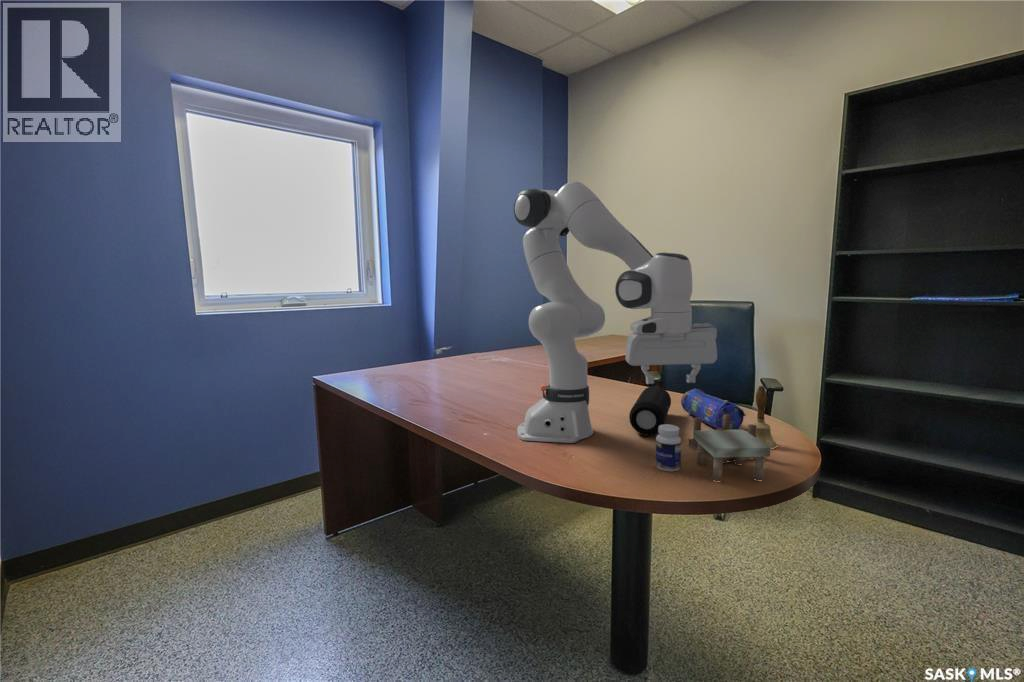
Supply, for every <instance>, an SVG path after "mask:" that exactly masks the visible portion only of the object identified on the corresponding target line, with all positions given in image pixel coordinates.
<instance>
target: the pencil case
mask: <svg viewBox="0 0 1024 682" xmlns="http://www.w3.org/2000/svg"><path fill="white" fill-rule="evenodd" d="M680 402H681V407H682V409H683V410H684V411H685V412H686V413H688V414H689V415H692V416H693V417H694V418H696V417H697V418H701V422H704V423H706V424H707V425H709V426H711V427H713V428H715V430H717V428H723V415H724V414H728V415H731V420H730V430H739V429H740V427H741V426H742V424H743V422H744V419H745V418H744V417H746V416H747V414H746V413H745V412H744V410H743V408H740V406H738V405H737V404H735V403H733V402H730V401H729V400H724V399H722V398H719V397H716V396H714V395H710V394H707V393H705V392H704V391H703V390H701V389H699V388H693V389H690V390H688V391H686V392H684V394H683V395H682V396H681V401H680Z"/></svg>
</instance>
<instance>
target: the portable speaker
mask: <svg viewBox="0 0 1024 682" xmlns="http://www.w3.org/2000/svg"><path fill="white" fill-rule="evenodd" d="M671 404H672V399H671V396H670V394H669V392H668V391H667V390H666V389H664V388H663V387H661V386H657V385H651V386H648V387H646V388H644V390H642V392H641V393H640V394H639V396H638V398H637V399H636V401H635V403H634V404H633V406H632V407H631V409H630V410H629V415H628V418H629V422H630V423H629V424H630V425H631V427H632V428H633V430H634V431H636V432H637V433H639V435H640V434H641V435H643V436H653V435H656V434H659V432H658V427H659V426H660V425H663V424H665V422H666V419H667V416H668V414H669V411H670V408H671Z"/></svg>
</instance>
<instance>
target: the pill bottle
mask: <svg viewBox="0 0 1024 682" xmlns="http://www.w3.org/2000/svg"><path fill="white" fill-rule="evenodd" d="M681 458H682V439H681V437H680V427H679V426H676V425H674V424H667V423H666V424H665V423H664V424H663V425H660V426H659V427H658V433H657V435H656V437H655V459H654V460H655V462H654V463H655V467H656V468H657V469H658V470H661V471H664V472H676V471H679V470H680V469H681V465H682V463H681V462H682V461H681V460H682V459H681Z"/></svg>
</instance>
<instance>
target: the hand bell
mask: <svg viewBox="0 0 1024 682" xmlns="http://www.w3.org/2000/svg"><path fill="white" fill-rule="evenodd" d="M767 402H768V394H767V392H766V387H765V386H763V385H759V386H758V389H757V392H756V394H755V403H756V406H757V417H756V418H757V420H756V421H755V422H752V423H751V424H752V425H756V438H757V439H758V440H760V441H761V442H763V443H764V444H766V445H767V446H769V447H770V448H774V447H776V446H777V445H778V443H777V442H776V441H775V440H774V438H773V436H772V431H771V426H770V425H769V424H768V423H767V422H766V421H765V408H766V405H767Z"/></svg>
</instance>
